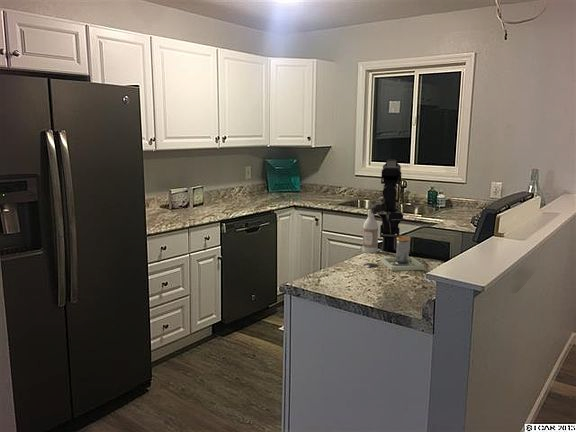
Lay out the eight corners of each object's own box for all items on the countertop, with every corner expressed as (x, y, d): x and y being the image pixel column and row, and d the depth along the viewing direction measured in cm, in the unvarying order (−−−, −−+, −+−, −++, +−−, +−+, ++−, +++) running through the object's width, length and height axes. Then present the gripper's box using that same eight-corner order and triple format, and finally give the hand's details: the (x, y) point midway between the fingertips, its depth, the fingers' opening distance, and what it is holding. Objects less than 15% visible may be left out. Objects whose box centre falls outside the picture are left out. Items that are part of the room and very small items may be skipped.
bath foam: (360, 252, 218) (361, 210, 214) (365, 248, 224) (366, 208, 220) (374, 254, 215) (375, 211, 211) (379, 250, 221) (380, 209, 217)
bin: (381, 263, 199) (381, 257, 199) (411, 262, 201) (411, 256, 200) (391, 272, 186) (391, 266, 186) (423, 271, 187) (424, 265, 187)
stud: (361, 265, 196) (361, 263, 196) (376, 265, 197) (376, 263, 196) (365, 270, 190) (365, 267, 189) (380, 269, 190) (380, 267, 190)
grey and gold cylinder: (391, 265, 195) (393, 236, 192) (402, 263, 197) (403, 235, 195) (401, 268, 190) (402, 239, 187) (412, 266, 192) (413, 238, 190)
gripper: (365, 193, 206) (364, 228, 209) (378, 199, 188) (376, 237, 191) (389, 193, 207) (388, 227, 210) (404, 199, 189) (402, 236, 192)
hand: (388, 232), depth 201 cm, fingers open, 9 cm apart
